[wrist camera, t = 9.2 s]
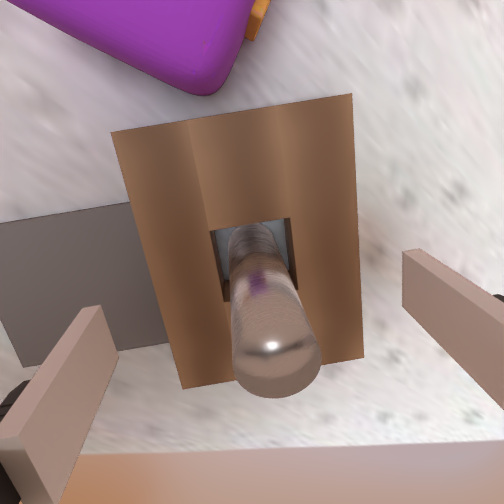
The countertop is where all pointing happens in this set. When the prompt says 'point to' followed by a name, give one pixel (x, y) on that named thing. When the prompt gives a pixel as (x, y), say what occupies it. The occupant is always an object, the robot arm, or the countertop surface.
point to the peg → (267, 319)
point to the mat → (76, 279)
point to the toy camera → (161, 34)
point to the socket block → (247, 221)
